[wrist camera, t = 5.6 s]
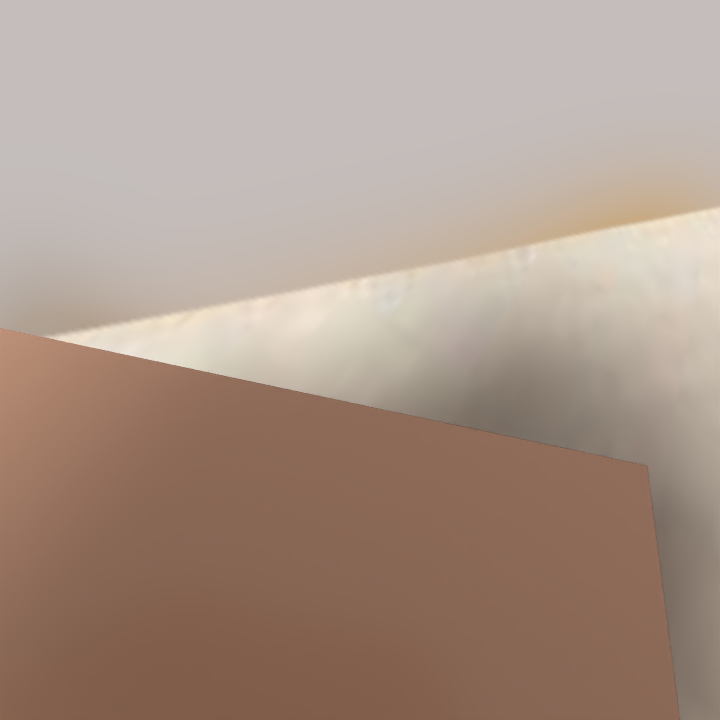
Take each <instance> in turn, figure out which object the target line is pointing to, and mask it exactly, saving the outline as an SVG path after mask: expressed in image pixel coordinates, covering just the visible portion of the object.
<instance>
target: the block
mask: <svg viewBox="0 0 720 720" xmlns="http://www.w3.org/2000/svg"><path fill="white" fill-rule="evenodd" d="M0 720H680V717H679V710H678V702H677V694H676V686H675V679H674V671H673V663H672V655H671V648H670V640H669V632H668V624H667V617H666V609H665V601H664V593H663V585H662V578H661V570H660V562H659V554H658V547H657V539H656V531H655V523H654V516H653V508H652V500H651V492H650V485H649V477H648V469H647V466H646V465H641V464H636V463H631V462H627V461H622V460H617V459H613V458H608V457H603V456H599V455H594V454H589V453H584V452H580V451H575V450H570V449H566V448H561V447H556V446H552V445H547V444H542V443H537V442H533V441H528V440H523V439H519V438H514V437H509V436H505V435H500V434H495V433H490V432H486V431H481V430H476V429H472V428H467V427H462V426H458V425H453V424H448V423H443V422H439V421H434V420H429V419H425V418H420V417H415V416H411V415H406V414H401V413H396V412H392V411H387V410H382V409H378V408H373V407H368V406H364V405H359V404H354V403H349V402H345V401H340V400H335V399H331V398H326V397H321V396H317V395H312V394H307V393H302V392H298V391H293V390H288V389H284V388H279V387H274V386H270V385H265V384H260V383H255V382H251V381H246V380H241V379H237V378H232V377H227V376H223V375H218V374H213V373H208V372H204V371H199V370H194V369H190V368H185V367H180V366H176V365H171V364H166V363H161V362H157V361H152V360H147V359H143V358H138V357H133V356H129V355H124V354H119V353H114V352H110V351H105V350H100V349H96V348H91V347H86V346H82V345H77V344H72V343H67V342H63V341H58V340H53V339H49V338H44V337H39V336H35V335H30V334H25V333H20V332H16V331H11V330H6V329H2V328H0Z"/></svg>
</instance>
